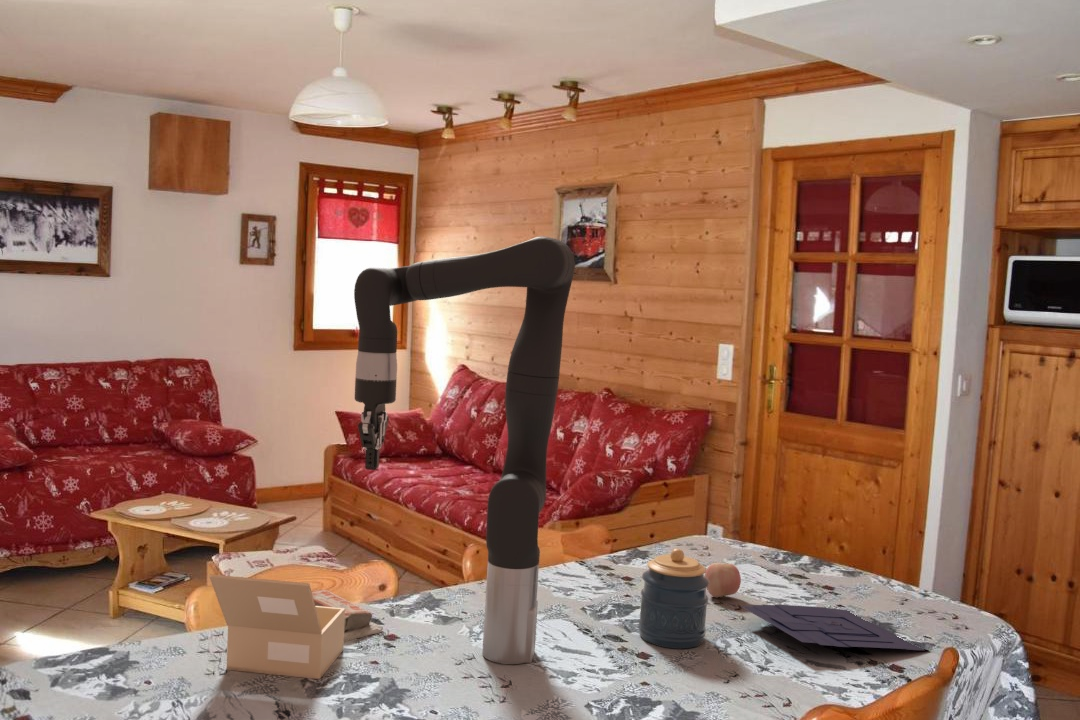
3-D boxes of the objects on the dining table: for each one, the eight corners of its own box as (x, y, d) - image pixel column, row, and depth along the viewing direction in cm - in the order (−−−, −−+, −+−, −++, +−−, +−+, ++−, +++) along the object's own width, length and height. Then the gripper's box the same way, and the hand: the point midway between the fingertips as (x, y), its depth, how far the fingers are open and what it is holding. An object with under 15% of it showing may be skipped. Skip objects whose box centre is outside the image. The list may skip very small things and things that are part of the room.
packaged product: (287, 593, 190) (331, 584, 197) (286, 617, 190) (330, 607, 197) (339, 619, 177) (384, 609, 184) (338, 645, 178) (383, 634, 185)
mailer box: (343, 650, 174) (345, 608, 174) (319, 679, 161) (321, 634, 161) (256, 641, 176) (258, 600, 175) (226, 669, 163) (227, 625, 162)
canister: (712, 634, 194) (719, 547, 193) (694, 655, 182) (701, 562, 181) (650, 621, 199) (656, 536, 198) (628, 640, 188) (634, 550, 186)
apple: (744, 597, 219) (746, 562, 218) (731, 606, 212) (734, 570, 212) (710, 589, 223) (713, 555, 222) (697, 597, 216) (700, 562, 216)
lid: (309, 583, 152) (308, 586, 152) (321, 631, 161) (320, 635, 160) (210, 574, 154) (209, 577, 153) (228, 622, 162) (226, 625, 162)
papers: (731, 615, 202) (735, 598, 202) (846, 621, 214) (849, 605, 214) (805, 660, 180) (809, 641, 180) (928, 664, 192) (932, 646, 191)
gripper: (387, 381, 173) (382, 477, 175) (404, 374, 187) (400, 464, 188) (345, 378, 174) (341, 474, 176) (366, 371, 187) (361, 461, 189)
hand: (371, 468), depth 182 cm, fingers closed
